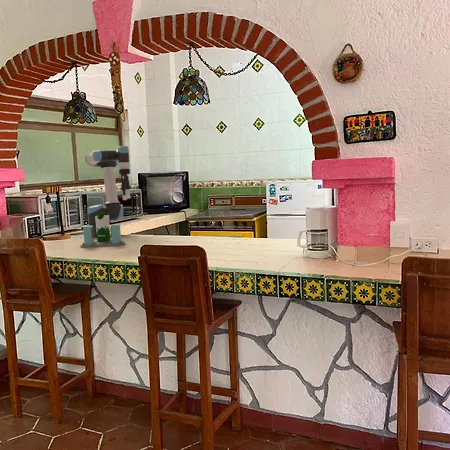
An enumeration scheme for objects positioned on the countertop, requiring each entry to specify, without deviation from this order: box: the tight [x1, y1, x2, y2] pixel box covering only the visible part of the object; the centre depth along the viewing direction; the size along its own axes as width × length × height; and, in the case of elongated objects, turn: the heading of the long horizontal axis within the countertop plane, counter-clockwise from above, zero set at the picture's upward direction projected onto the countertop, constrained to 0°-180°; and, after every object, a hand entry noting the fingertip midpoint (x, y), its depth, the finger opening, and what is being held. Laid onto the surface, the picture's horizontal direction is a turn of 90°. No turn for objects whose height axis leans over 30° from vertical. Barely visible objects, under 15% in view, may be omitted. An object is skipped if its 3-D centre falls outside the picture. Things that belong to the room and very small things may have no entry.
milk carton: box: [95, 213, 112, 243], centre depth 338 cm, size 9×9×20 cm
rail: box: [80, 239, 126, 249], centre depth 318 cm, size 7×28×3 cm, turn 92°
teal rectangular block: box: [82, 225, 95, 245], centre depth 317 cm, size 5×6×12 cm
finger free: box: [110, 223, 122, 244], centre depth 318 cm, size 5×6×12 cm
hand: (126, 199), depth 335 cm, fingers open, 13 cm apart
